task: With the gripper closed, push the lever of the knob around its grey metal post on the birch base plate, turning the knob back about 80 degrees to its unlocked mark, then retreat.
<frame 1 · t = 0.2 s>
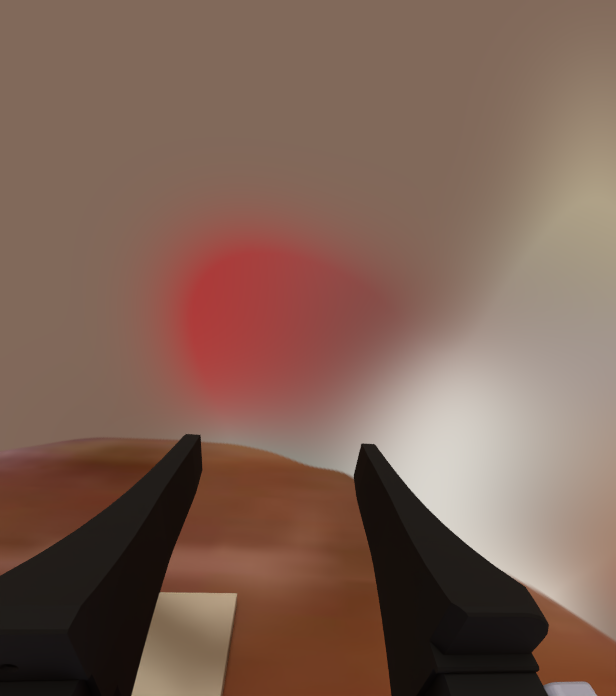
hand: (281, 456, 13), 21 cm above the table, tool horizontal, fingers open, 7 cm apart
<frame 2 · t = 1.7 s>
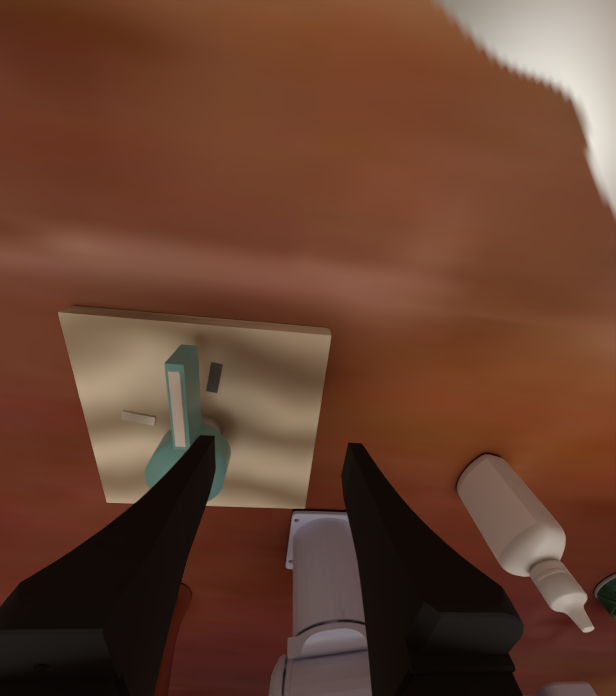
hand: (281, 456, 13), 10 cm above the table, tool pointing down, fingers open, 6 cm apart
knob: (187, 430, 19), point 5 cm above the table, hinge at 0.0°
post base: (209, 417, 25), on the table
beer glass: (166, 591, 35), on the table
eye dropper bottle: (476, 471, 29), on the table
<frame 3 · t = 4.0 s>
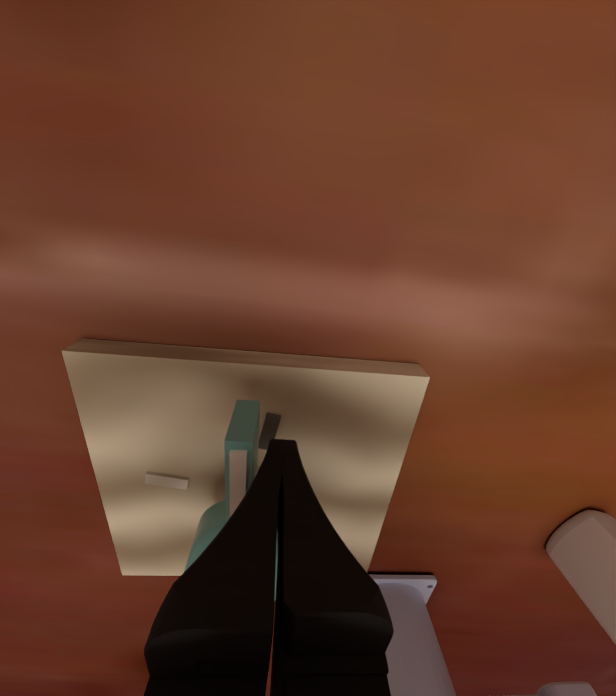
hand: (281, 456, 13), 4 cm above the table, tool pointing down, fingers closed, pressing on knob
knob: (242, 514, 13), point 5 cm above the table, hinge at 0.0°, touching gripper
post base: (254, 472, 19), on the table
eye dropper bottle: (571, 527, 24), on the table
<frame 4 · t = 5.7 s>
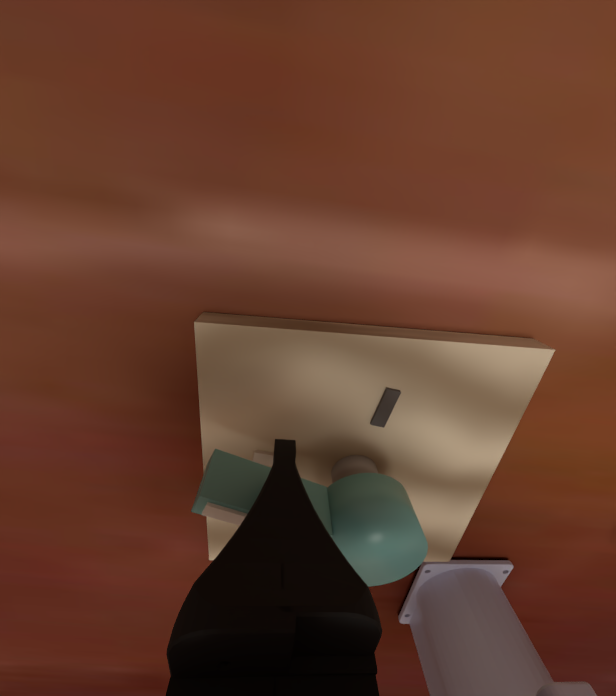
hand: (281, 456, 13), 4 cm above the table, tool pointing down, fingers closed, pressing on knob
knob: (315, 514, 14), point 5 cm above the table, hinge at 67.7°, touching gripper
post base: (349, 453, 19), on the table
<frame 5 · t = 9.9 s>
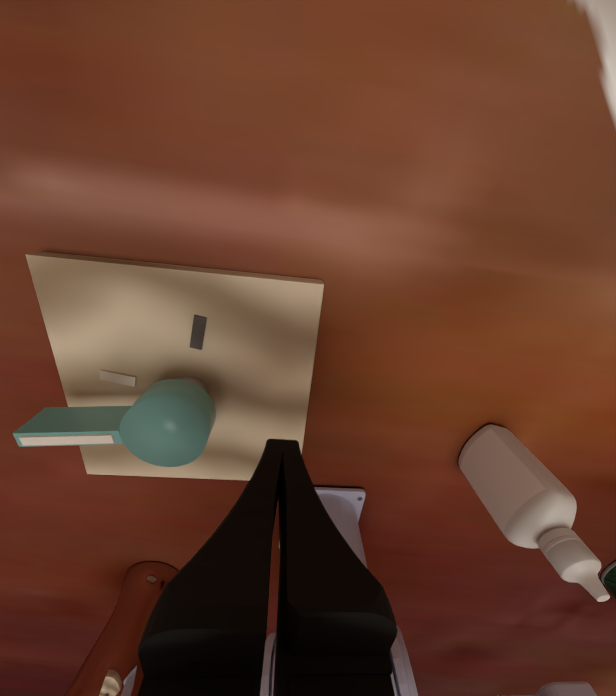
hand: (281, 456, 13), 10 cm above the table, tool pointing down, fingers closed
knob: (122, 424, 18), point 5 cm above the table, hinge at 95.9°
post base: (195, 381, 23), on the table
beer glass: (155, 574, 34), on the table
eye dropper bottle: (479, 444, 28), on the table
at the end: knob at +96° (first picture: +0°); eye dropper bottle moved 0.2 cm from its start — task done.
